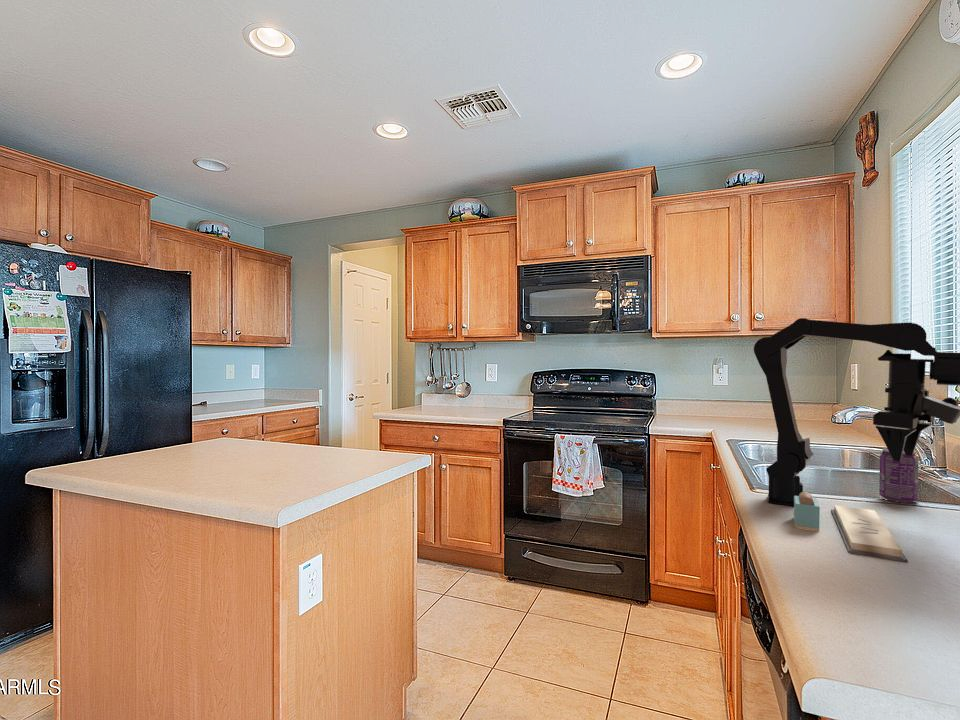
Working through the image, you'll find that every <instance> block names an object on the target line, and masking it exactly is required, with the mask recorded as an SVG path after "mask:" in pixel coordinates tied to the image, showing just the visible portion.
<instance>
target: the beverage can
mask: <svg viewBox="0 0 960 720" xmlns="http://www.w3.org/2000/svg"><path fill="white" fill-rule="evenodd" d="M881 451H882V452H881V454H880V455H879V479H878V480H879V488H878V490H879V491H878V494H879V495H880V496H881V497H882V498H883V499H884V500H887V501H890V502H894V501H898V502H897V503H900V502H911V503H913V502H918V500H919V460H918V457H917V455H916V451H914V453H913V455H912V456H909V455H906V454H905V452H904V450H903V454H902V457H901V460H900V461H894V460H893V459H892V456H891V454H890V452H889V450H888V448H887V447H886V448H882V450H881Z"/></svg>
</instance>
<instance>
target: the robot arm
mask: <svg viewBox="0 0 960 720" xmlns="http://www.w3.org/2000/svg"><path fill="white" fill-rule="evenodd" d="M808 336H812V337H821V338H830V339H831V338H832V339H839V340H840V339H841V340H851V341H852V340H853V341H858V342H859V341H860V342H868V343H873V344H876V345H881V346H885V347H890V348H893V349H896V350H897V349H898V350H902V351H906V352H907V351H911V352H912V351H914V352H916V353H918V354H920V355H922V356H924V357H925V356H930V357H931V356H932V357H933V359H928V358H927V359H926V358H925V359H923V358H921V359H918V358H912V353H893V352H892V351H891V350H890V349H887V350H886V351H885V352H884V353H883V354H882V355H880V356H879V357H877V360H878V361H881V362H888V383H887V387H885V388H884V393H887V404H886V405H887V406H884V408H883V409H884V410H879V411H878V412H876V413H874V414H873V417H872V425H875V426H874V427H875V429H877V431H878V433H879V435H880V436H881V438H882V440H883V442H884V444H885V446H886V448H888V450H889V452H890V454H891V456H892V459H893V460H894V461H900V460H901V457H902V454H903V450H904V452H905V454H906V455H909V456H912V455H913V453H914V452H915V449H916V448H917V444H918V442H919V438H920V436H921V434H922V432H923V431H924V430H926V429H928V428H929V427H930V426H932V425H933V423H934V422H935V418H936V419H939V420H941V421H942V422H944V423H946V424H951V425H953V424H955V423H957V421H958V420H959V417H960V406H959V399H955V398H954V397H950V396H948V397H947V396H946V398H944V399H940V398H934V397H933V396H932V397H931V396H929V395H930V394H929V393H930V390H928V389H927V388H925V386H926V385H925V384H926V382H925V381H926V363H929V380H930V381H931V380H933V381H936V386H937V385H938V386H954V387H955V386H959V387H960V352H953V351H952V352H951V351H949V352H948V351H947V352H946V351H945V352H942V351H940V352H938V351H937V349H936V347H937V346H936V347H933V346H932V345H931V344H930V343H929V341H927V332H926V330H925V329H924V327H922V325H920V324H917V323H914V322H895V323H894V322H893V323H892V322H891V323H890V322H889V323H879V324H877V323H876V324H865V323H852V322H844V321H843V322H842V321H841V322H840V321H830V320H829V321H828V320H820V319H819V320H818V319H817V320H816V319H810V318H805V317H802V318H801V317H800V318H798V319H795V320H794V321H793V323H791V324H789V325H787V326H785V327H784V328H782V329H781V330H779V331H777V332H775V333H774V334H773V335H771V336H766V337H765V336H764V337H761V338H759V339H758V340H757V341H756V342H755V344H754V345H753V353H754V355H755V357H756V360H757V362H758V363H757V364H759V367H760V368H761V370H762V372H763V374H764V375H765V379H766V383H767V387H768V392H769V397H770V401H771V406H772V411H773V416H774V419H775V425H776V428H777V429H776V430H777V443H776V444H777V445H776V461H774V462H773V463H771V464H770V465H769V466H767V467H766V468H765V470H766V472H767V475H768V494H767V502H768V503H771V504H778V505H785V506H793V507H794V496H799V494H800V493H801V492H804V485H803V483H802V482H801V478H800V475H799V474H800V472H802V471H803V470H805V469H806V468H807V467H808V466H809V465H810V463H811V457H812V456H814V452H813V451H812V449H811V441H810V440H811V439H810V437H806V438H803V437H802V435H801V433H800V431H799V429H798V423H797V419H796V415H795V410H794V406H793V401H792V397H791V393H790V389H789V388H790V387H789V382H788V377H787V373H786V372H787V364H788V363H787V362H788V351H787V350H789V349H790V348H792V347H794V346H795V345H797V344H798V343H799V342H801V341H802V340H803V339H804V338H806V337H808Z"/></svg>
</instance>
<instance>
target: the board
mask: <svg viewBox="0 0 960 720" xmlns="http://www.w3.org/2000/svg"><path fill="white" fill-rule="evenodd" d="M831 511H832V512H831V514H832V516H833V519H834V518H835V519H834V521H835V523H837V524H836V526H837V529H838V530H840V531H839V533H840V535H841V538H842V541H843V542H844V544H845V547H846V549H847V552H848V553H850V554H855V555H862V556H865V557H866V556H868V557H872V558H880V559H884V560H885V559H886V560H890V561H891V560H893V561H897V562H904V563H908V558H907V557H906V555H905V554H904V553H903V548H901V546H900V544H899V543H898V541H897V540H896V539H895V538H894V536H893V535H892V533H891V532H890V531H889V529H888V527H887V526H886V525H885V524H884V522H883V521H882V519H881V518H880V516H879V515H878V514H877V512H876V511H875V510H874V509H867V508H857V507H851V506H844V505H836V504H834V508H831Z"/></svg>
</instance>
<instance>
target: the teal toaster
mask: <svg viewBox="0 0 960 720" xmlns="http://www.w3.org/2000/svg"><path fill="white" fill-rule="evenodd" d="M820 510H821V509H820V503H819V501H818V498H816V497H813V495H812V494H811V493H809V492H808V491H803V492H801V493H800V494H799V496H794V506H793V521H794V527H796V529H798V528H802V529H801V530H805V529H809V530H808V531H812V530H814V532H818V531H819V532H820Z"/></svg>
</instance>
